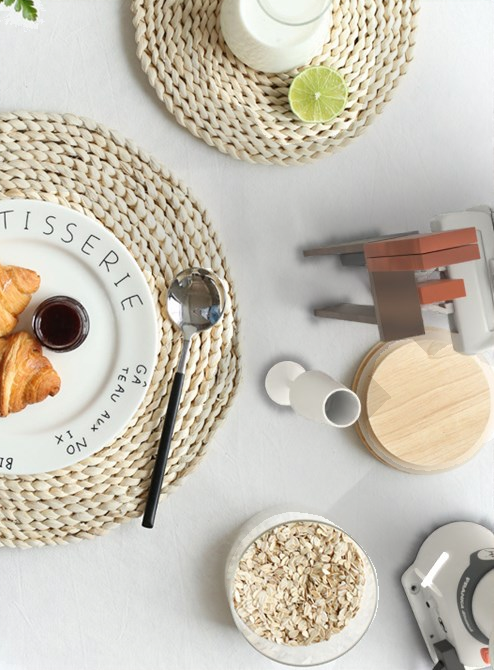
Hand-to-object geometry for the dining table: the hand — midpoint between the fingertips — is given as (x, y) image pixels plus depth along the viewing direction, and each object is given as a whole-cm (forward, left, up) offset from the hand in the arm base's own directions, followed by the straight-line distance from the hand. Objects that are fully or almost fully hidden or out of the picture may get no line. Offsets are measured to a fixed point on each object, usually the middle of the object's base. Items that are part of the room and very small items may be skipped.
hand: (414, 292), depth 116 cm
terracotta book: (0, -1, -8) cm, 8 cm away
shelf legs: (+3, +10, -8) cm, 13 cm away
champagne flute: (-10, +18, -9) cm, 23 cm away
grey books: (+7, +4, -8) cm, 12 cm away
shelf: (+3, +10, +16) cm, 19 cm away
